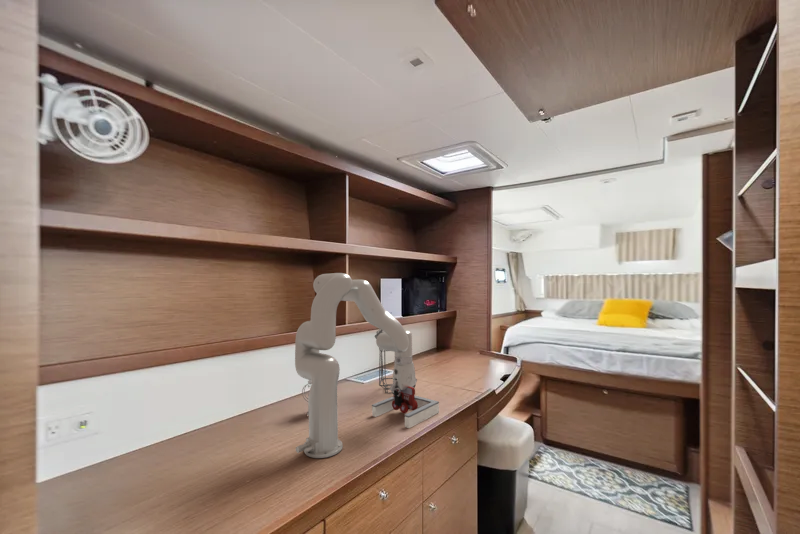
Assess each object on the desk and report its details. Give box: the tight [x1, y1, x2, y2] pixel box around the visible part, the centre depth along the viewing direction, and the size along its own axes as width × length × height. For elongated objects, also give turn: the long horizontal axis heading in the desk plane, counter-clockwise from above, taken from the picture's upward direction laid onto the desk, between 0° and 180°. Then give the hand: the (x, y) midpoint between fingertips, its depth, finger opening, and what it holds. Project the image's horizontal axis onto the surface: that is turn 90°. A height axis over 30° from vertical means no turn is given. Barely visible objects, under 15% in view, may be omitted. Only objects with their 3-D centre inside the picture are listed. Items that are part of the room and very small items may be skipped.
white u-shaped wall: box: [371, 394, 440, 429], centre depth 146 cm, size 20×20×5 cm
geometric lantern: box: [374, 329, 393, 394], centre depth 178 cm, size 16×16×35 cm
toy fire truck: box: [392, 386, 418, 414], centre depth 146 cm, size 7×12×10 cm, turn 41°
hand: (404, 402), depth 145 cm, fingers closed on toy fire truck, 7 cm apart
